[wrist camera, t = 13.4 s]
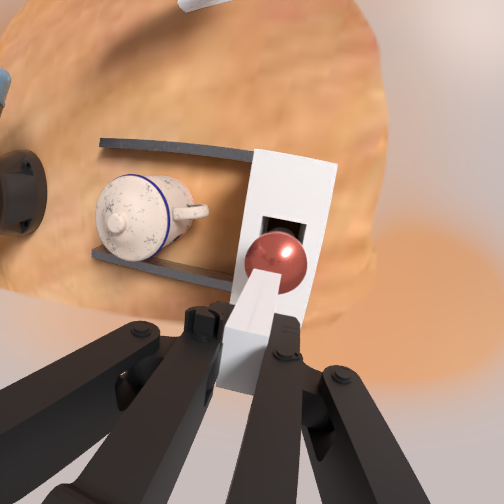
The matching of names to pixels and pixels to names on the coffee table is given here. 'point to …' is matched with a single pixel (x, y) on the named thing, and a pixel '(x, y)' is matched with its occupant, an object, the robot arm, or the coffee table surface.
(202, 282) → the pair of grey rails
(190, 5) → the heart sculpture
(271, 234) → the red knob
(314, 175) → the end cabinet
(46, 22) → the coffee table surface
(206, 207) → the teacup with lid
